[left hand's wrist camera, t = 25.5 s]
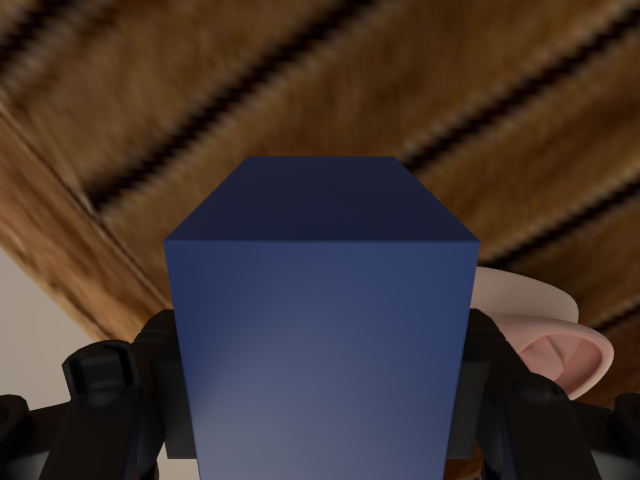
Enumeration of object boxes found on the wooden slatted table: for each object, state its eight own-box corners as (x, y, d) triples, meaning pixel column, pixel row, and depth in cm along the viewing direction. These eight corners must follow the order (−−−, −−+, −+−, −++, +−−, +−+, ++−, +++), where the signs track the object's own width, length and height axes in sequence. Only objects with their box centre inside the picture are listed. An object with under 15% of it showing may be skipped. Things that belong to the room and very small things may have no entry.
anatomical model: (346, 411, 24) (445, 253, 20) (342, 367, 28) (426, 227, 24) (527, 476, 26) (647, 344, 22) (501, 428, 30) (601, 307, 26)
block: (247, 156, 15) (161, 240, 7) (394, 156, 15) (482, 241, 7) (259, 347, 18) (211, 559, 10) (381, 347, 18) (430, 559, 10)
